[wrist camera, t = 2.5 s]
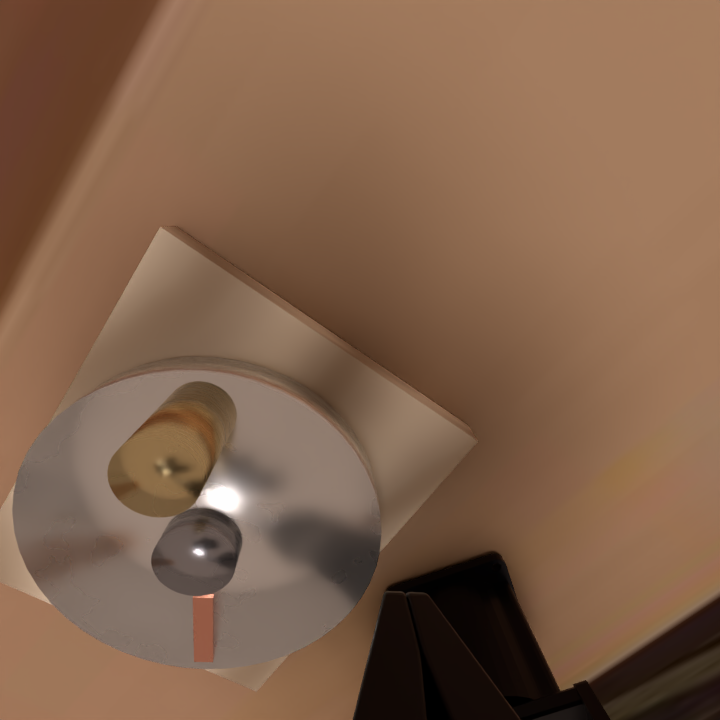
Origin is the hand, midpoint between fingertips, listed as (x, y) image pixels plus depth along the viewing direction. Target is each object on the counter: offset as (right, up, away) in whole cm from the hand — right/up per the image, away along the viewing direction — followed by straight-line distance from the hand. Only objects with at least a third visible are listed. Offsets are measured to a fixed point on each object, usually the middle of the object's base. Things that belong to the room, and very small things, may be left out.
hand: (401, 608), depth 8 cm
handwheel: (-7, -2, +10) cm, 12 cm away
